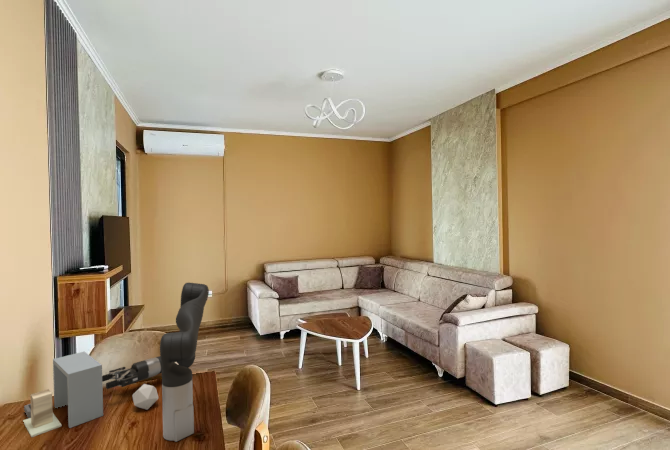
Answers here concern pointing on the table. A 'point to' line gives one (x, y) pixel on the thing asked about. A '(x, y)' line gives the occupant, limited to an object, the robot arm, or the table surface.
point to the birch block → (41, 408)
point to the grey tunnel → (78, 387)
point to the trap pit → (28, 410)
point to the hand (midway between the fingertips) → (102, 383)
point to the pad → (42, 428)
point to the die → (145, 396)
